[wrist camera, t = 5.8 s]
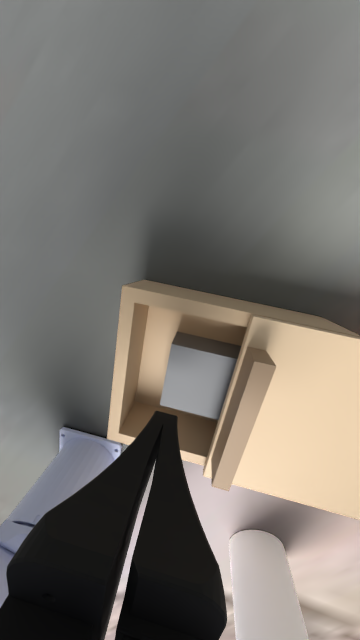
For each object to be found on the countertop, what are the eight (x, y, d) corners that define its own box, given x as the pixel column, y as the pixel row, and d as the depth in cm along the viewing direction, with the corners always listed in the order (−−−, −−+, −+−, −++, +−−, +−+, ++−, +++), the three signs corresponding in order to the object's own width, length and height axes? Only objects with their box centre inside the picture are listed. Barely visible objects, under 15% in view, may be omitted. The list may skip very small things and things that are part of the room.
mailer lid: (401, 523, 16) (437, 572, 13) (203, 468, 17) (202, 504, 14) (525, 372, 12) (612, 402, 9) (251, 314, 13) (262, 326, 10)
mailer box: (269, 438, 21) (286, 488, 17) (128, 401, 23) (106, 438, 18) (320, 316, 17) (363, 337, 12) (144, 279, 18) (122, 285, 14)
